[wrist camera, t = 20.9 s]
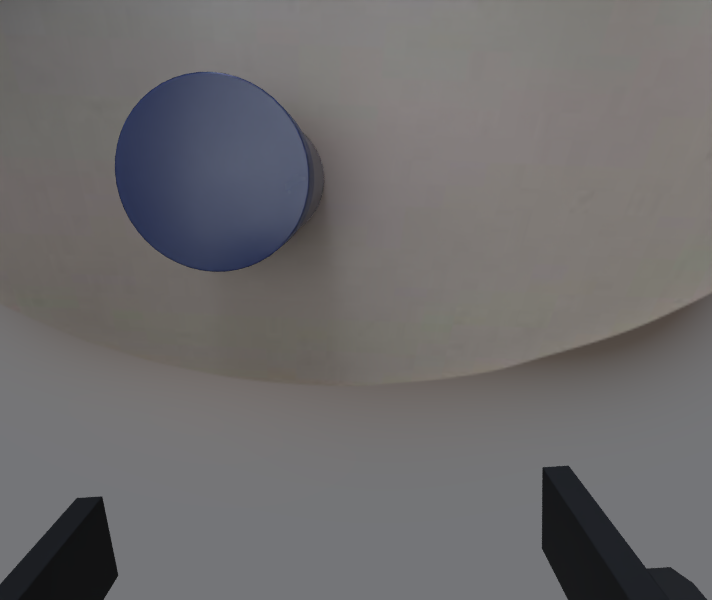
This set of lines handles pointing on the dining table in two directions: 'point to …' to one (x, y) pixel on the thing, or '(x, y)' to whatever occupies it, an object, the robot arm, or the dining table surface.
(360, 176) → the dining table surface
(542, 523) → the robot arm
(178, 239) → the lid
